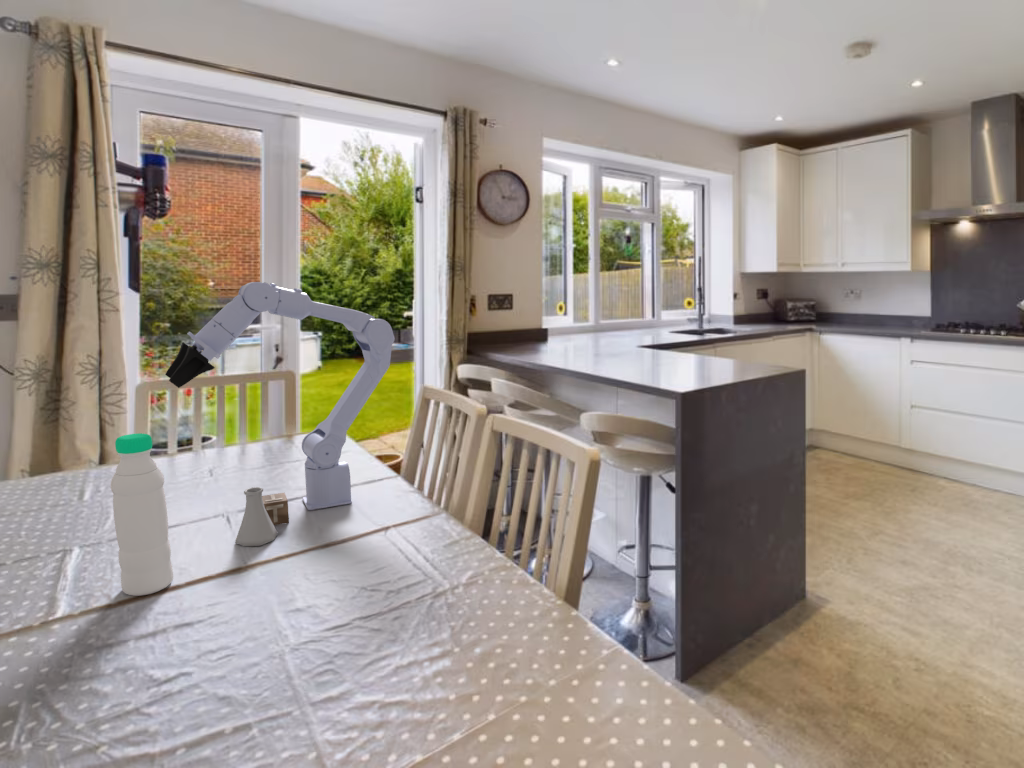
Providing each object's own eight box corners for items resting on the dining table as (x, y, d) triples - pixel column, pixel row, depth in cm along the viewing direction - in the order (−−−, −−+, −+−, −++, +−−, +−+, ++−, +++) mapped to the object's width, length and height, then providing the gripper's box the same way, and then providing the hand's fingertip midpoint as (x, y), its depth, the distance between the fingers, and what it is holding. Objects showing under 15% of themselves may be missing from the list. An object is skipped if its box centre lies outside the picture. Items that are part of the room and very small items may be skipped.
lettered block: (285, 514, 122) (284, 491, 121) (289, 523, 117) (287, 499, 117) (260, 519, 120) (258, 495, 119) (262, 528, 115) (261, 503, 114)
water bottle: (161, 571, 97) (147, 428, 93) (182, 583, 93) (168, 434, 89) (114, 588, 91) (97, 437, 87) (134, 602, 87) (117, 444, 83)
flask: (262, 549, 106) (258, 497, 104) (227, 545, 107) (223, 494, 105) (284, 533, 113) (282, 484, 111) (252, 530, 114) (248, 482, 112)
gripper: (201, 312, 116) (150, 362, 113) (212, 317, 105) (156, 373, 101) (230, 336, 120) (181, 384, 117) (243, 343, 109) (190, 397, 105)
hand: (171, 381), depth 109 cm, fingers open, 7 cm apart
